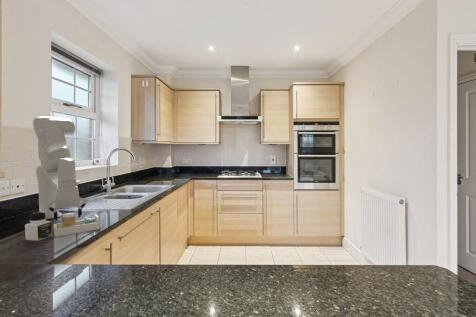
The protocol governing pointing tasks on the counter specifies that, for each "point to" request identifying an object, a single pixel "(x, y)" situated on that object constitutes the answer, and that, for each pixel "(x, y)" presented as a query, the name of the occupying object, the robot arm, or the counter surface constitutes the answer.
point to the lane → (77, 227)
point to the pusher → (88, 220)
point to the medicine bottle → (38, 227)
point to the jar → (68, 219)
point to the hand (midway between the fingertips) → (68, 218)
